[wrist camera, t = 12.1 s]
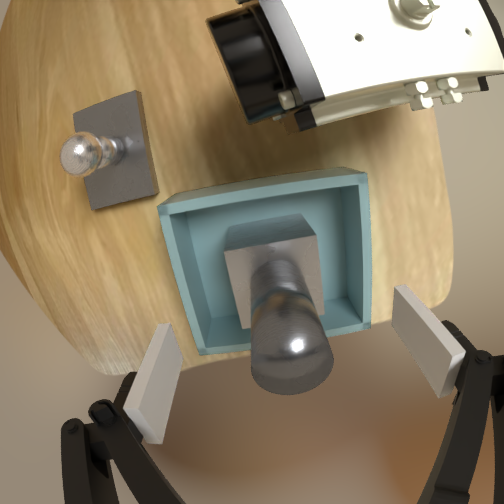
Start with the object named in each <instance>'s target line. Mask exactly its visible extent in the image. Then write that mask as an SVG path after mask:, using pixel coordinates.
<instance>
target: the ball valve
mask: <svg viewBox="0 0 504 504" xmlns="http://www.w3.org/2000/svg"><path fill="white" fill-rule="evenodd" d="M235 1H236V3H237V4H242V7H241V8H238V9H234V10H231V11H228V12H225V13H222V14H219V15H216V16H213V17H210V18H207V19H206V21H205V22H206V25H207V28H208V30H209V33H210V35H211V38H212V40H213V43H214V45H215V48H216V50H217V53H218V55H219V58H220V60H221V63H222V65H223V68H224V70H225V72H226V75H227V77H228V80H229V82H230V85H231V87H232V90H233V92H234V95H235V97H236V99H237V102H238V104H239V107H240V109H241V112H242V114H243V116H244V119H245V121H246V123H247V124H248V125H252V124H255V123H258V122H261V121H264V120H267V119H270V118H272V119H273V120H274V121H275V120H279V122H280V123H283V124H284V127H285V129H286V132H287V134H288V135H290V134H293V133H297V132H301V131H304V130H307V129H310V128H314V127H317V126H320V125H324V124H327V123H331V122H335V121H339V120H342V119H346V118H350V117H354V116H358V115H362V114H365V113H369V112H372V111H377V110H381V109H385V108H389V107H394V106H398V105H403V104H408V103H410V106H411V109H412V111H415V110H421V109H426V108H431V107H433V102H432V99H434V98H439V97H440V98H441V102H442V104H443V105H444V104H451V103H457V102H462V101H463V98H462V95H461V94H465V93H472V92H480V91H488V90H489V88H488V85H487V81H486V76H492V75H499V74H504V38H503V35H502V32H501V28H500V26H499V23H498V21H497V19H496V17H495V16H494V14H493V13H492V11H491V9H490V7H489V5H488V3H487V1H486V0H235Z"/></svg>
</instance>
